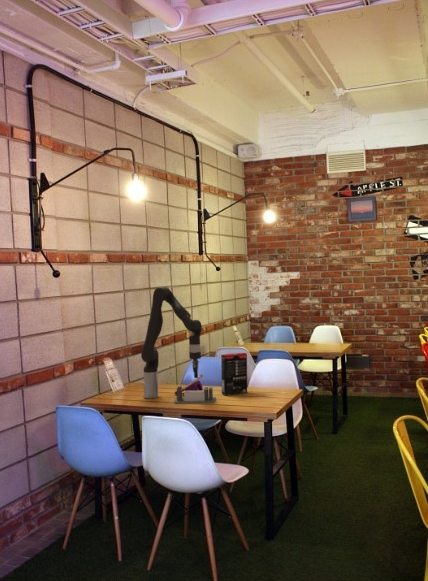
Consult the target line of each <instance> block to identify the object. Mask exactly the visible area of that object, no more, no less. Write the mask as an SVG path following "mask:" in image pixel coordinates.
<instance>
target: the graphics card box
mask: <svg viewBox="0 0 428 581" xmlns="http://www.w3.org/2000/svg"><path fill="white" fill-rule="evenodd" d="M220 360H221V361H220V362H221V365H220V366H221V394H222V395H224V396H231V395H239V394H248V353H246V352H236V353H228V354H227V353H226V354H221V357H220Z"/></svg>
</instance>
